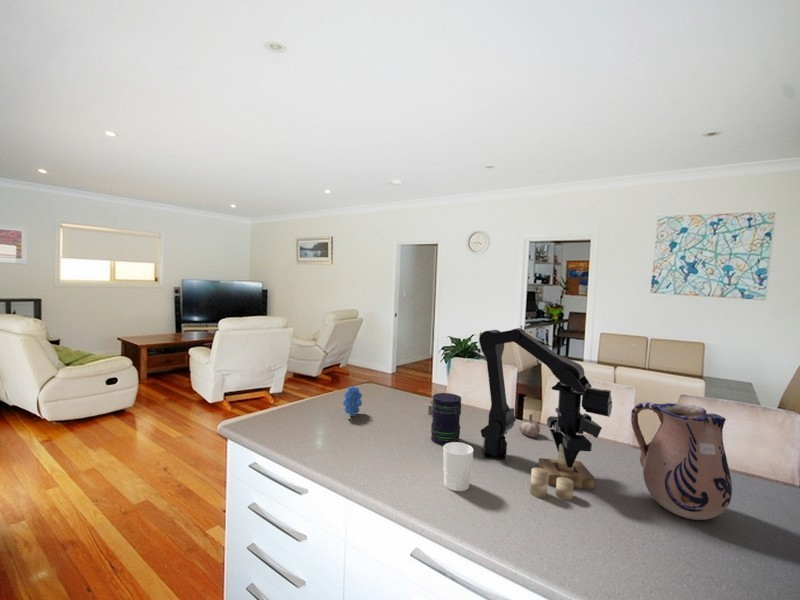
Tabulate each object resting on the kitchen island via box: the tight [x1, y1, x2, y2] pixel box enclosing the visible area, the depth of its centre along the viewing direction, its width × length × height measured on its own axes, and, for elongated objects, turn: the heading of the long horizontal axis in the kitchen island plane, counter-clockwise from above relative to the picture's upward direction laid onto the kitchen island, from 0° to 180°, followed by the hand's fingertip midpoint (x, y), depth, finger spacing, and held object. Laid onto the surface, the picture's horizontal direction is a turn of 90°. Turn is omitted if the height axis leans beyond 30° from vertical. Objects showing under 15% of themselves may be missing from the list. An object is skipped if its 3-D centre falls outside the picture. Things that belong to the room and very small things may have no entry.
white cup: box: [442, 441, 475, 492], centre depth 104 cm, size 8×8×10 cm
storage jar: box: [430, 392, 462, 447], centre depth 133 cm, size 10×10×15 cm
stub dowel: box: [555, 477, 574, 501], centre depth 101 cm, size 4×4×4 cm
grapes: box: [342, 386, 363, 417], centre depth 153 cm, size 12×7×12 cm, turn 153°
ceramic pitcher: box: [630, 401, 733, 521], centre depth 97 cm, size 18×21×25 cm
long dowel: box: [557, 444, 573, 473], centre depth 110 cm, size 4×4×9 cm
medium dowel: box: [529, 467, 548, 499], centre depth 101 cm, size 4×4×6 cm
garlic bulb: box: [518, 413, 541, 438], centre depth 142 cm, size 8×7×8 cm
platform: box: [425, 398, 433, 417], centre depth 158 cm, size 12×18×7 cm, turn 55°
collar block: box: [537, 457, 596, 490], centre depth 110 cm, size 12×10×3 cm
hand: (565, 462), depth 110 cm, fingers open, 6 cm apart
